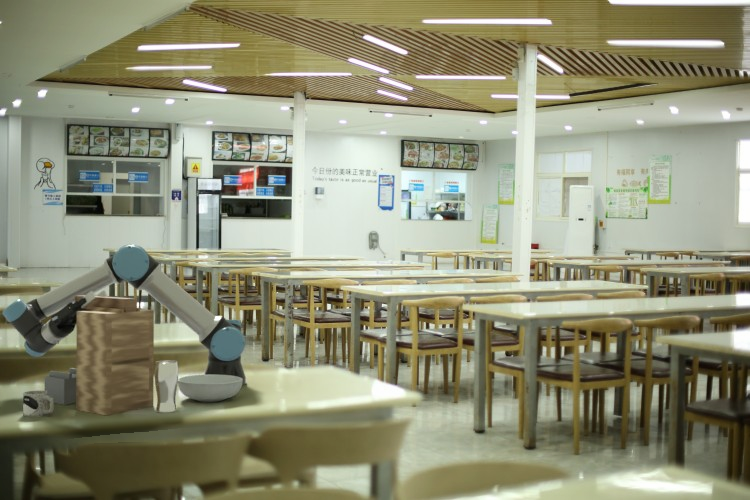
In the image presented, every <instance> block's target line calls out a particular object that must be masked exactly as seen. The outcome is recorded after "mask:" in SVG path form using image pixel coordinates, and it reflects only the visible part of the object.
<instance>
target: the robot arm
mask: <svg viewBox="0 0 750 500" xmlns="http://www.w3.org/2000/svg"><path fill="white" fill-rule="evenodd" d="M161 267H162V266H161V263H159V261H157V260H156V259H155V258H154V257H153V256H151V254H149V253H148V252H147V251H146V250H145V249H144V248H143V247H142V246H140V245H137V244H126V245H123V246H121V247H119V248H118V249H117V250H116V252H115V253H114V254H113V255H112V256H109V257H108V258H106V259H105V260H104V263H103V264H100V265H98V266H97V267H94V268H92V269H90V270H89V271H87V272H85V273H83V274H81V275H79V276H77V277H75V278H72V279H71V280H69V281H68V282H66V283H65V282H64V283H62V285H59V286H57V287H56V288H54V289H52V290H49V291H48V292H46V293H44V294H42V295H40V296H38V297H36V298H33V299H32V300H30V301H28V302H26V303H25V302H24V301H23V300H22V299H19V298H18V299H16V300H15V301H13V302H12V303H10V304H9V305H8V306H6V308H5V309H4V310H2V316H3V317H4V318H5V320H6V321H7V322H9V324H10V325H11V326H12V327H13V328H14V329H15V330H16V331H17V332H18V333H19V334H20V335H21V336H22V338H23V339H24V345H23V346H24V348H25V351H26V353H27V354H28V355H30V356H32V357H36V358H37V357H41V356H44V355H45V354H47V353H48V352H49V351H50V350H52V349H53V348H54V347H55V346H56V345H58V344H60V342H61V341H63V340H64V339H65V338H66V337H67V336H69V335H70V334H71V333H72V332H73V331H74V330H75V327H76V325H77V311H89V309H81V308H85V307H86V306H87V305H88V304H89V303H91V302H92V301H93V300H94V299H95V296H106V297H108V294H107V291H106V290H105V288H107V287H108V286H110V285H113V284H117V285H119V284H121V283H123V282H125V281H126V282H127V283H128V284H129V285H130V286H132V287H133V288H134V289H135V290H137V291H142V290H143V291H145V292H146V293H147V294H148V295H150V296H151V297H152V298H153V299H154V300H156V301H157V302H158V303H160V305H162V306H163V307H164V308H165V309H166V310H168V311H169V312H170V313H171V314H172V315H174V317H176V318H177V319H178V320H180V321H181V322H182V323H184V325H185V326H187V327H188V328H189V329H190V330H192V331H193V332H194V333H195V334H196V335H198V341H199V343H200V344H201V345H203V346H204V347H205V348H206V349H207V350H208V351H207V352H208V354H207V356H208V357H207V365H206V368H205V371H204V374H203V375H208V374H213V375H231V376H237V377H240V378H242V379H243V382H242V386H243V385H245V384H246V383H247V382H246V379H247V378H246V374H245V370H244V368H243V364H242V353H243V352H244V351H245V348H246V338H245V335H244V333H243V332H242V328H243V326H242V322H241V321H240V320H239V319H226V318H225V317H224V316H222V315H214V314H213V313H212V312H211V311H210V310H209V309H208V308H206V307H205V306H204V305H203V304H202V303H200V302H199V301H198V300H197V299H196V298H195V297H193V296H192V295H191V294H189V292H187V291H186V290H184V289H183V288H182V287H181V286H180V285H179V284H178V283H176V281H174V280H173V279H172V278H170V276H168V275H167V274H166V273H165V272H164V271H162V268H161ZM102 289H103V290H102ZM99 291H101V292H99ZM97 292H99V293H98V294H97V295H95V293H97ZM80 295H85V296H84V297H83V298H82V299H80V300H79V301H76V302H75V296H80ZM50 316H51V318H50V319H49V320H47V322H45V323H43V322H42V321H43V320H44V319H47V318H48V317H50Z"/></svg>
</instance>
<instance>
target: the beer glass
mask: <svg viewBox="0 0 750 500" xmlns="http://www.w3.org/2000/svg"><path fill="white" fill-rule="evenodd" d="M154 363H155V364H154V365H155V367H154V385H155V390H156V396H157V399H156V400H157V404H156V409H155V412H156V413H159V414H170V413H176V412H177V404H176V395H177V391H178V390H177V388H178V379H179V366H178V365H179V364H178V361H177V360H169V359H167V360H166V359H165V360H158V361H155V362H154Z"/></svg>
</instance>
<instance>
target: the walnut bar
mask: <svg viewBox="0 0 750 500" xmlns="http://www.w3.org/2000/svg"><path fill="white" fill-rule="evenodd" d="M84 296H85V295H80V296H75V302H76V301H79V300H80V299H82V298H83V297H84ZM94 296H95V299H94V300H93V301H92V302H91V303H89V304H88V305H87V306H86V307H85V308H81V309H89V310H92V307H101V308H114V309H124V312H136V308H137V298H133V297H122V296H121V297H119V296H107V297H106V296H97V295H94Z"/></svg>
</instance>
